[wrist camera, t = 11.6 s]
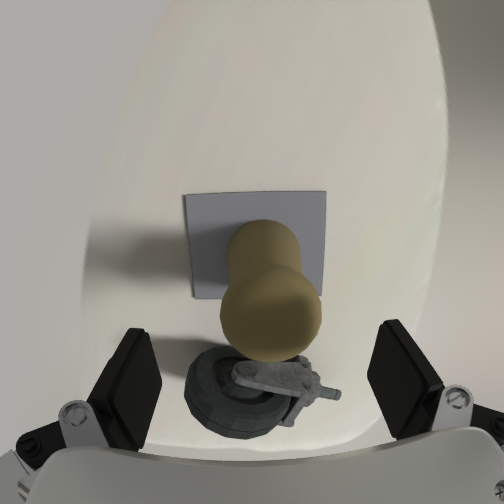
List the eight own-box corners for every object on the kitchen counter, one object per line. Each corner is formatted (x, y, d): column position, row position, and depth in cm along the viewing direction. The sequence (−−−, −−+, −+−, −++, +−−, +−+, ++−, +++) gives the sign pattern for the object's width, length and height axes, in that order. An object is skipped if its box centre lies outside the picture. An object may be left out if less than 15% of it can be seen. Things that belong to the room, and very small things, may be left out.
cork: (239, 297, 24) (232, 389, 14) (216, 231, 23) (187, 294, 12) (307, 278, 24) (344, 361, 13) (289, 209, 22) (324, 255, 12)
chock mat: (186, 194, 22) (185, 195, 22) (325, 191, 22) (326, 191, 22) (195, 297, 25) (195, 299, 24) (320, 294, 25) (321, 295, 24)
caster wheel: (195, 361, 28) (324, 398, 29) (167, 428, 19) (333, 466, 19) (208, 320, 27) (348, 362, 27) (177, 387, 17) (368, 432, 18)
